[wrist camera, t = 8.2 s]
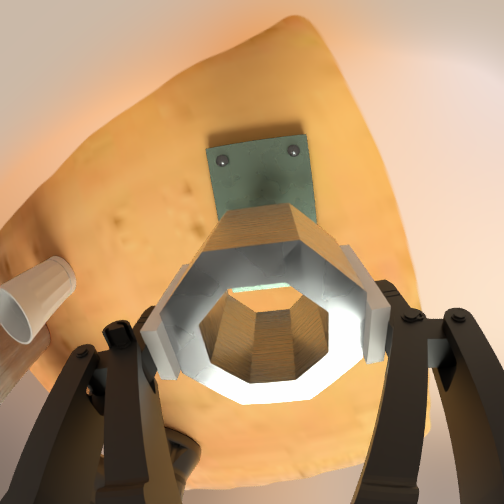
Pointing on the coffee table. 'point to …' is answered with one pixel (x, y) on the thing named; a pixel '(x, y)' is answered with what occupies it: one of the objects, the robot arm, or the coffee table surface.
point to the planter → (18, 358)
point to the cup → (34, 297)
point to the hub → (272, 322)
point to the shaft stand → (262, 178)
